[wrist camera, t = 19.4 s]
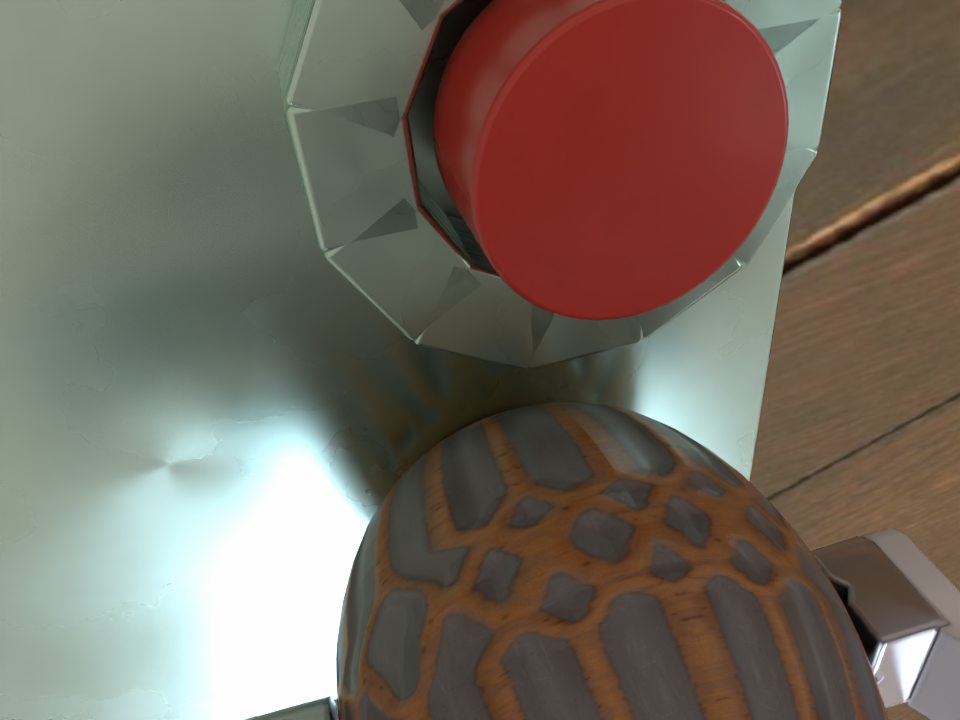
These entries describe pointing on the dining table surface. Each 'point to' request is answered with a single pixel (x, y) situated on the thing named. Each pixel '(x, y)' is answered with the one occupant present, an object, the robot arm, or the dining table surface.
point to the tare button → (610, 146)
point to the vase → (590, 585)
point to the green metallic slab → (280, 331)
